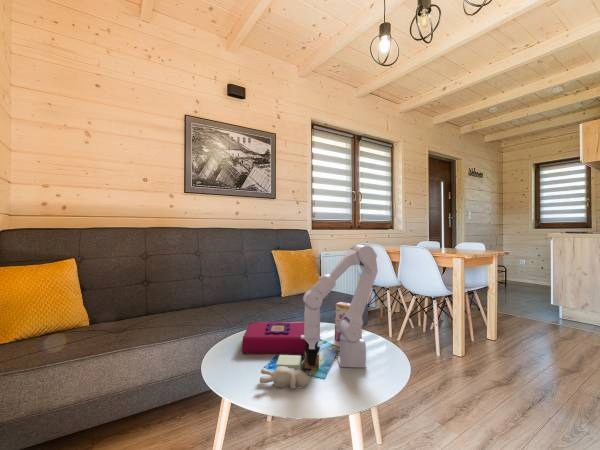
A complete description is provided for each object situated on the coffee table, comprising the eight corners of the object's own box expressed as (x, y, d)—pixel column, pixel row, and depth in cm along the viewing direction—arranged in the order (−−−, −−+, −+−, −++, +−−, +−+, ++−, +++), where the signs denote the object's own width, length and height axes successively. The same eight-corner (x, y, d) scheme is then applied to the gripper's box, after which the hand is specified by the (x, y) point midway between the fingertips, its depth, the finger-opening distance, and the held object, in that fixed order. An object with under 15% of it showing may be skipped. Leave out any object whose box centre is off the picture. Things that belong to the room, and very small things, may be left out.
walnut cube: (318, 363, 115) (318, 349, 115) (318, 369, 110) (318, 355, 110) (305, 362, 116) (305, 349, 116) (304, 368, 111) (304, 354, 111)
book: (312, 356, 122) (313, 337, 122) (241, 355, 122) (241, 336, 122) (310, 337, 143) (310, 320, 143) (249, 336, 143) (250, 320, 143)
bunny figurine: (309, 379, 95) (260, 374, 94) (307, 395, 95) (258, 391, 94) (306, 365, 104) (262, 361, 103) (304, 380, 104) (260, 376, 103)
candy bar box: (334, 340, 138) (334, 303, 138) (338, 337, 143) (339, 301, 143) (357, 345, 132) (358, 307, 132) (362, 342, 136) (362, 304, 137)
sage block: (301, 365, 114) (301, 355, 114) (299, 375, 106) (299, 365, 106) (279, 364, 115) (279, 354, 115) (276, 374, 107) (276, 364, 107)
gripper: (301, 318, 121) (301, 353, 120) (300, 330, 106) (299, 370, 106) (320, 318, 120) (319, 353, 120) (321, 330, 106) (320, 371, 106)
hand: (311, 361), depth 113 cm, fingers open, 6 cm apart
